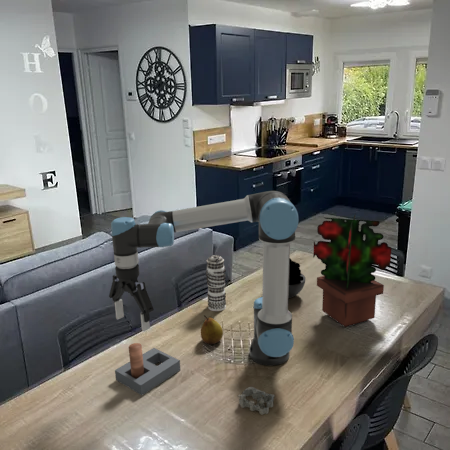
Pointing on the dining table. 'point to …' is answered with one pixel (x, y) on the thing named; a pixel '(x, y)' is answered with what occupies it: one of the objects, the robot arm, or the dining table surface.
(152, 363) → the socket block
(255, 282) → the dining table surface
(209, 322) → the fruit
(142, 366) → the peg
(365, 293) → the potted plant
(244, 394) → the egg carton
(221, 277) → the decorative candle
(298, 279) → the bowl of black rocks
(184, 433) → the dining table surface
